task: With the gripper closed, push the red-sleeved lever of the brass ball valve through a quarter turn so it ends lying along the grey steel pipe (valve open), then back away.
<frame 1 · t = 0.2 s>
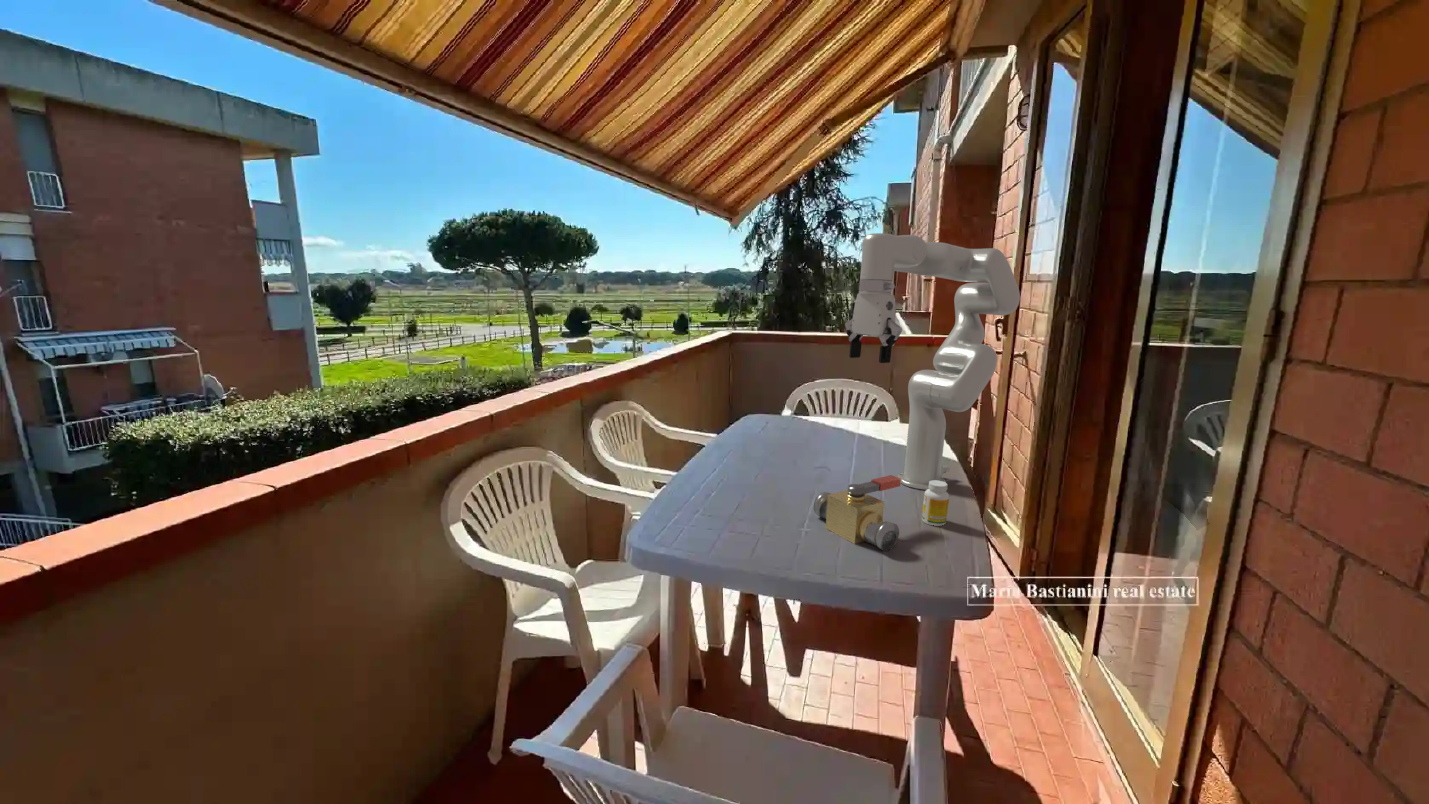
hand: (869, 360, 137), 36 cm above the table, tool pointing down, fingers open, 9 cm apart
lever: (873, 485, 126), point 10 cm above the table, hinge at 90.0°
valve: (853, 532, 126), on the table
supplement bottle: (933, 522, 132), on the table
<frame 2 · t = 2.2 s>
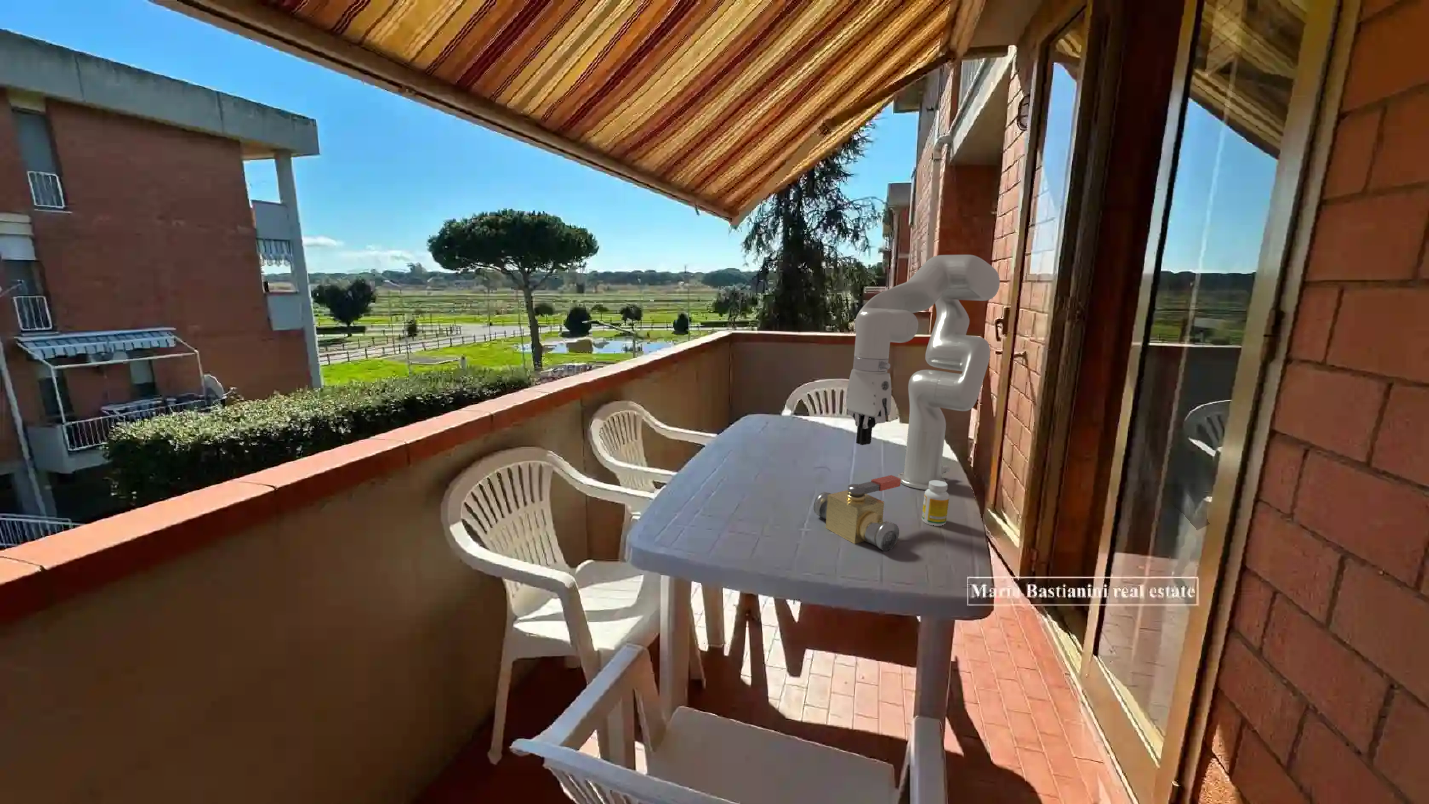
hand: (863, 443, 131), 18 cm above the table, tool pointing down, fingers closed
nothing on the table moved.
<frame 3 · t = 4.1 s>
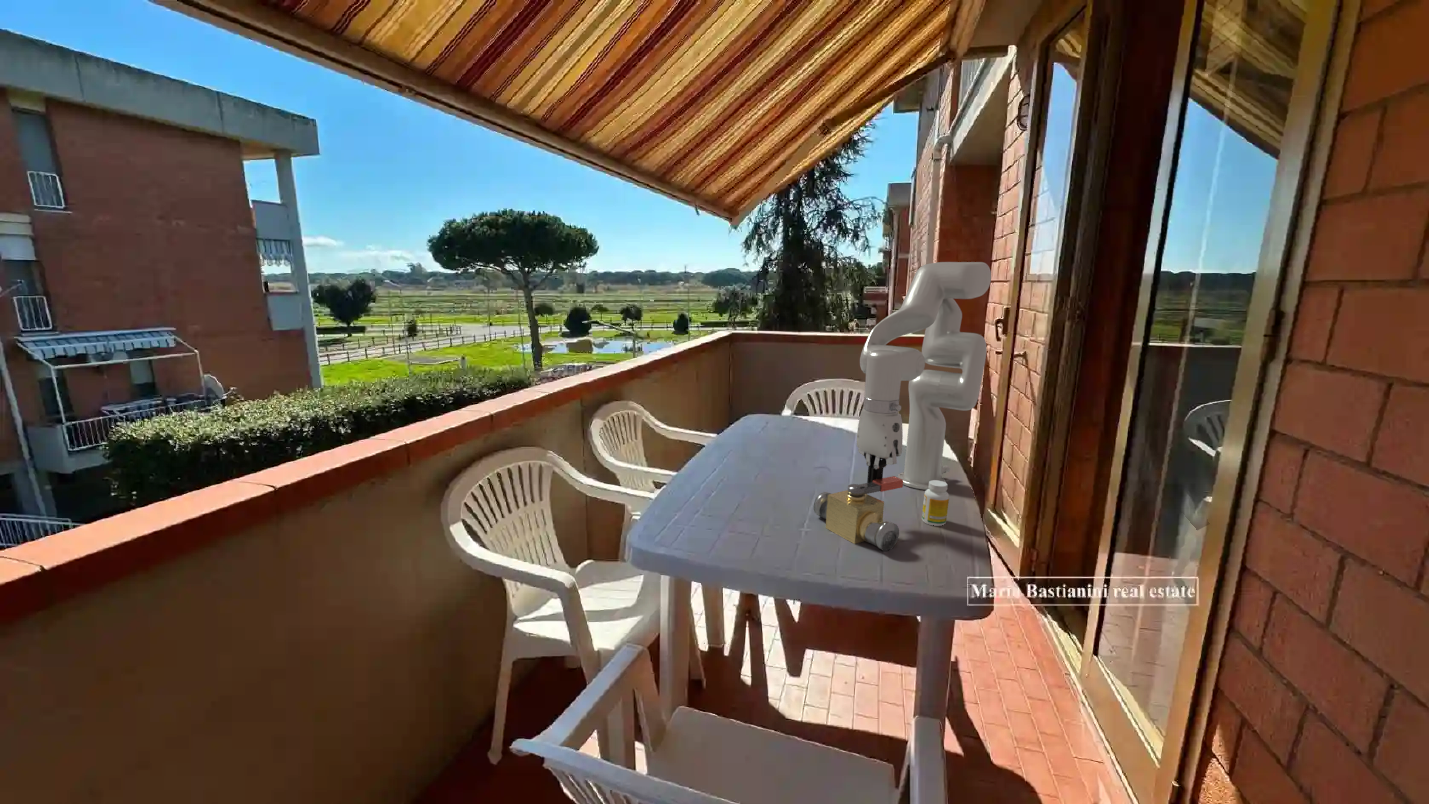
hand: (874, 483, 130), 9 cm above the table, tool pointing down, fingers closed
lever: (874, 486, 126), point 10 cm above the table, hinge at 86.3°, touching gripper
everything else where it was.
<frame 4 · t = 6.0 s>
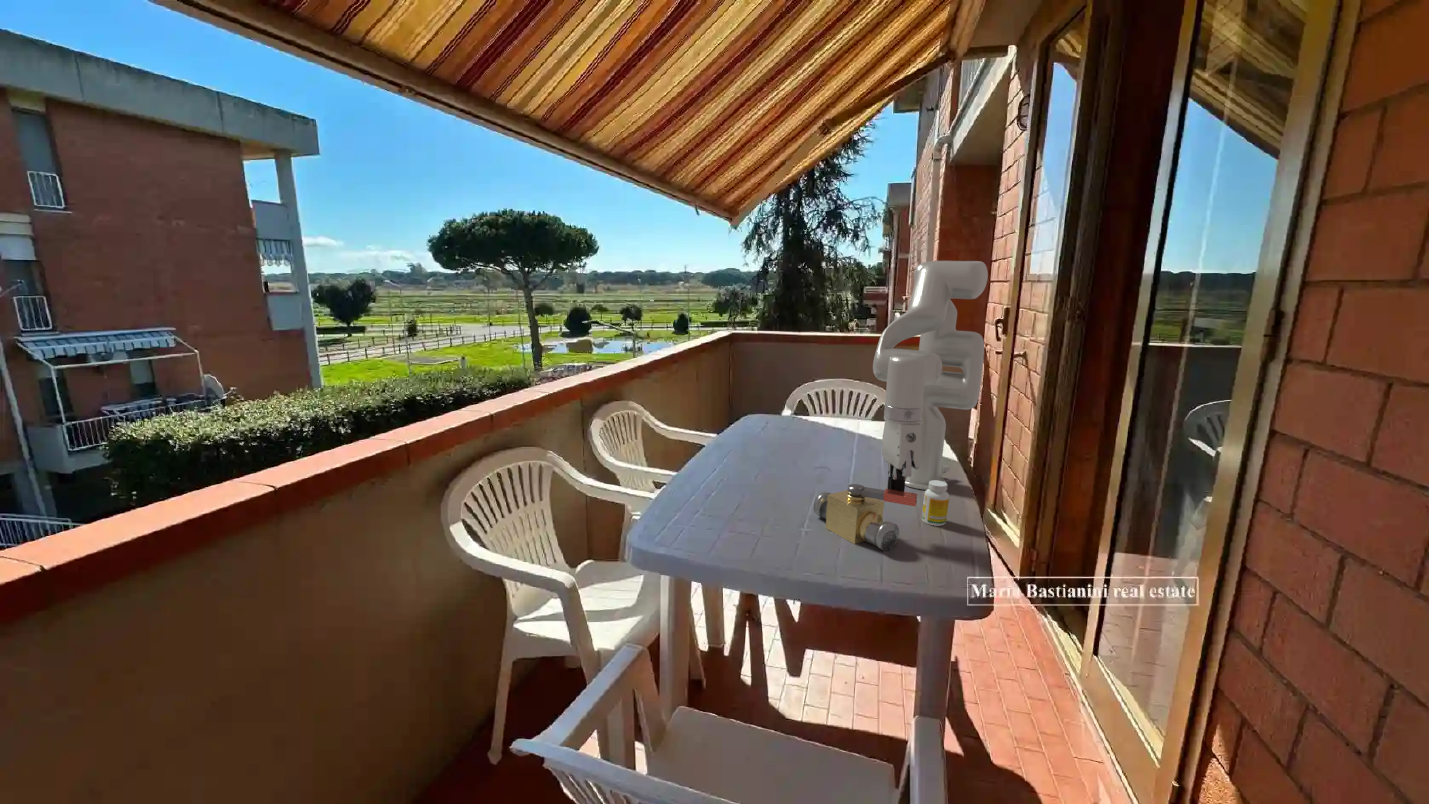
hand: (895, 494, 123), 9 cm above the table, tool pointing down, fingers closed
lever: (881, 494, 121), point 10 cm above the table, hinge at 34.0°, touching gripper
everything else where it was.
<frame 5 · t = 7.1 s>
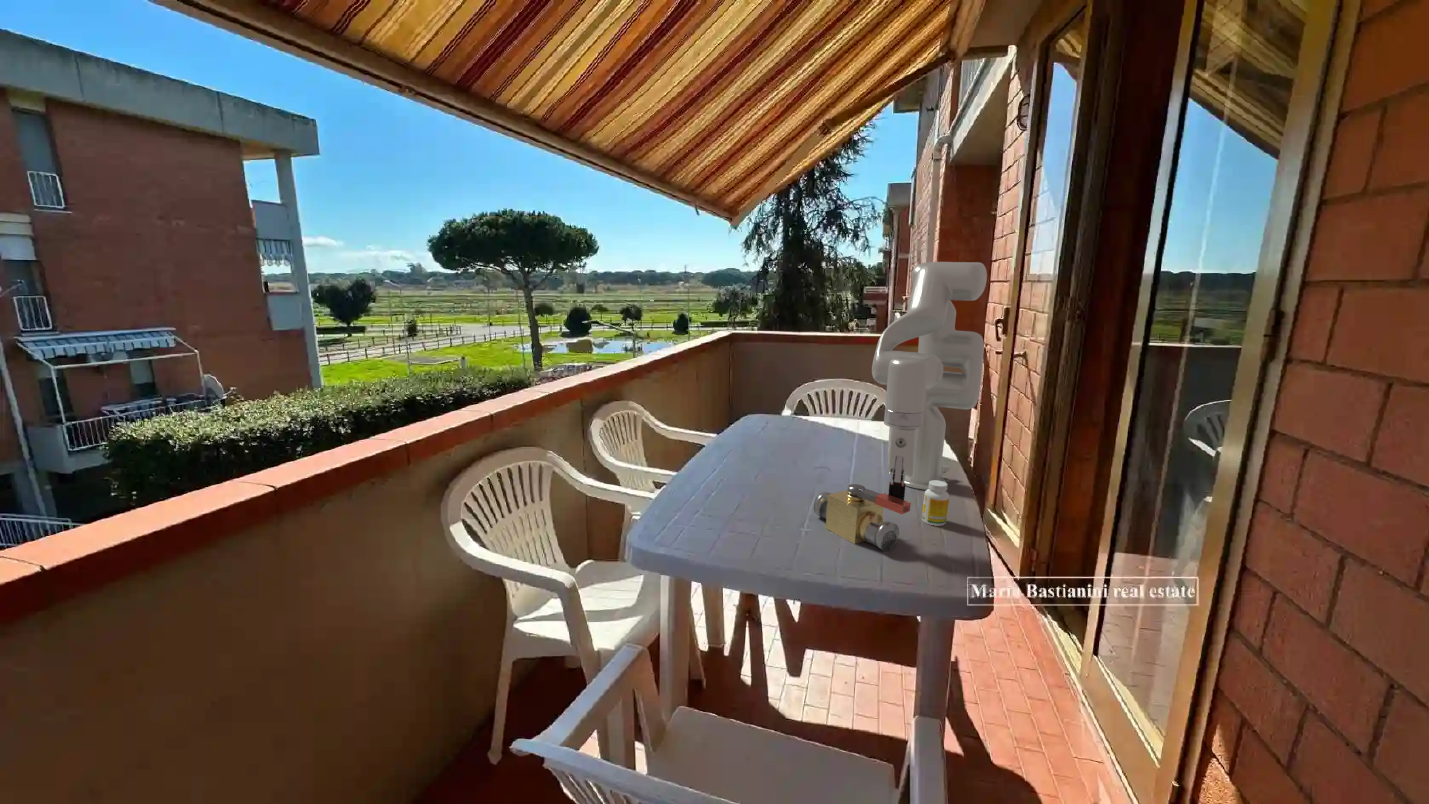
hand: (895, 501, 120), 9 cm above the table, tool pointing down, fingers closed
lever: (876, 497, 119), point 10 cm above the table, hinge at 6.8°, touching gripper
everything else where it was.
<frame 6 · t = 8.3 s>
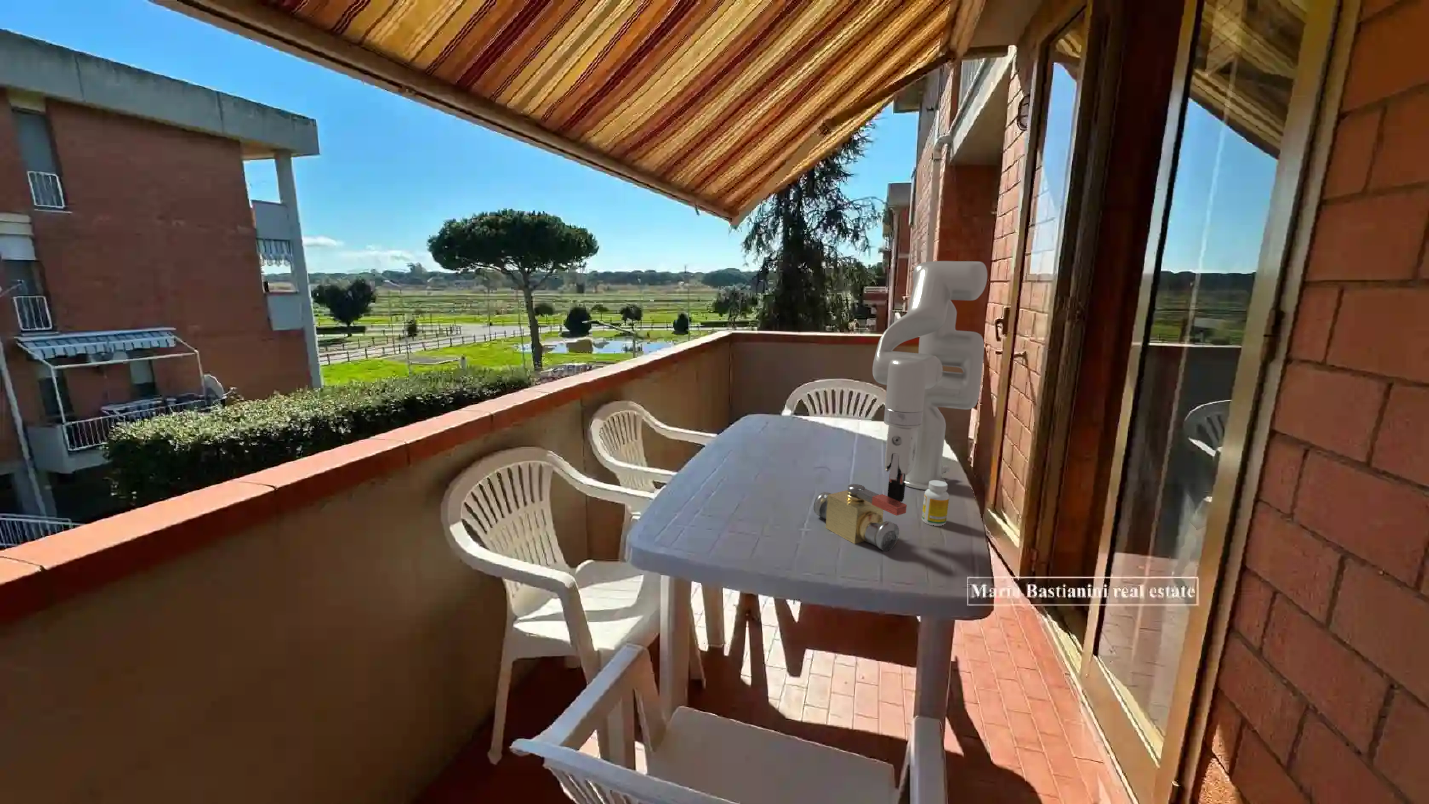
hand: (895, 499, 122), 9 cm above the table, tool pointing down, fingers closed
lever: (874, 498, 119), point 10 cm above the table, hinge at -0.2°
everything else where it was.
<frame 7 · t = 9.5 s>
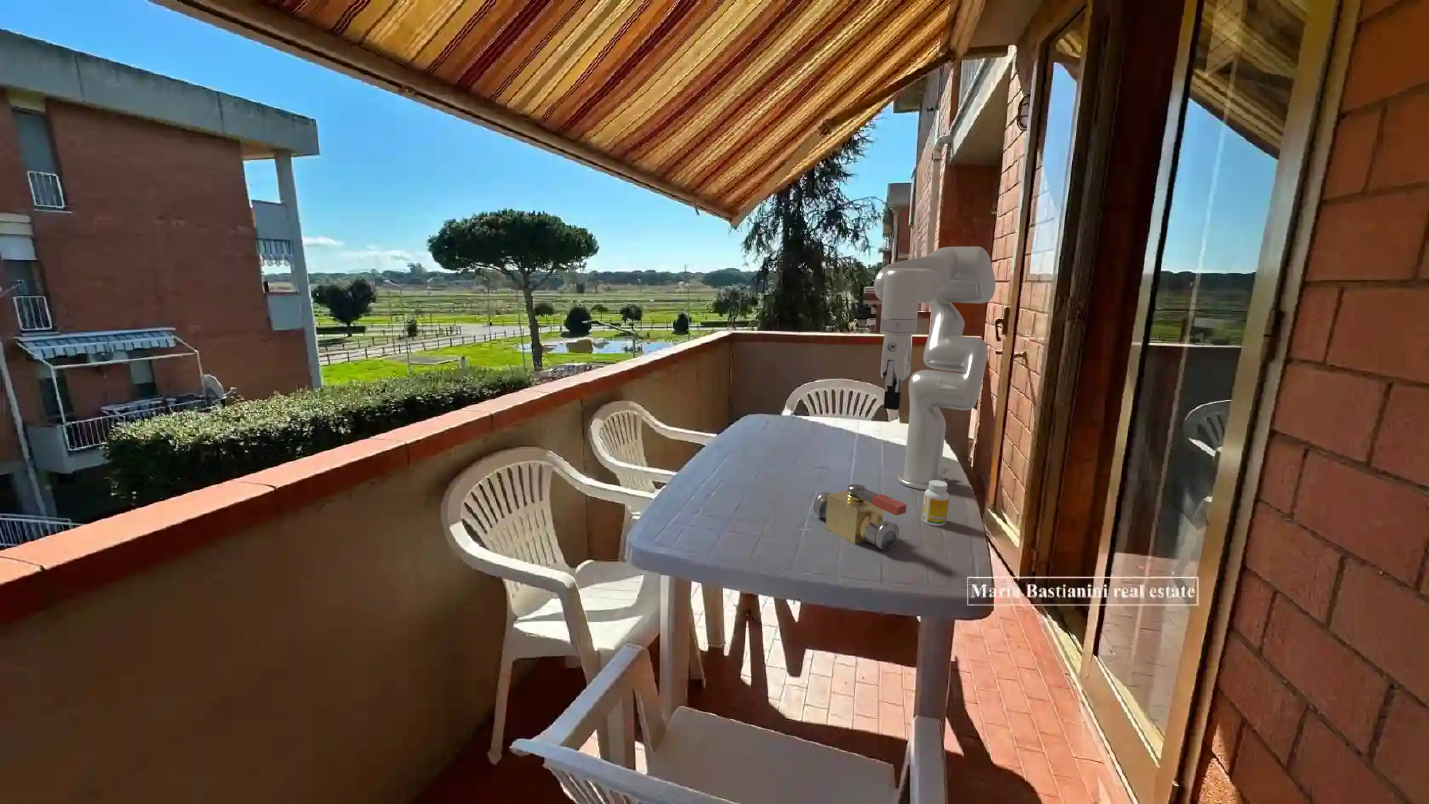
hand: (891, 408, 127), 27 cm above the table, tool pointing down, fingers closed
nothing on the table moved.
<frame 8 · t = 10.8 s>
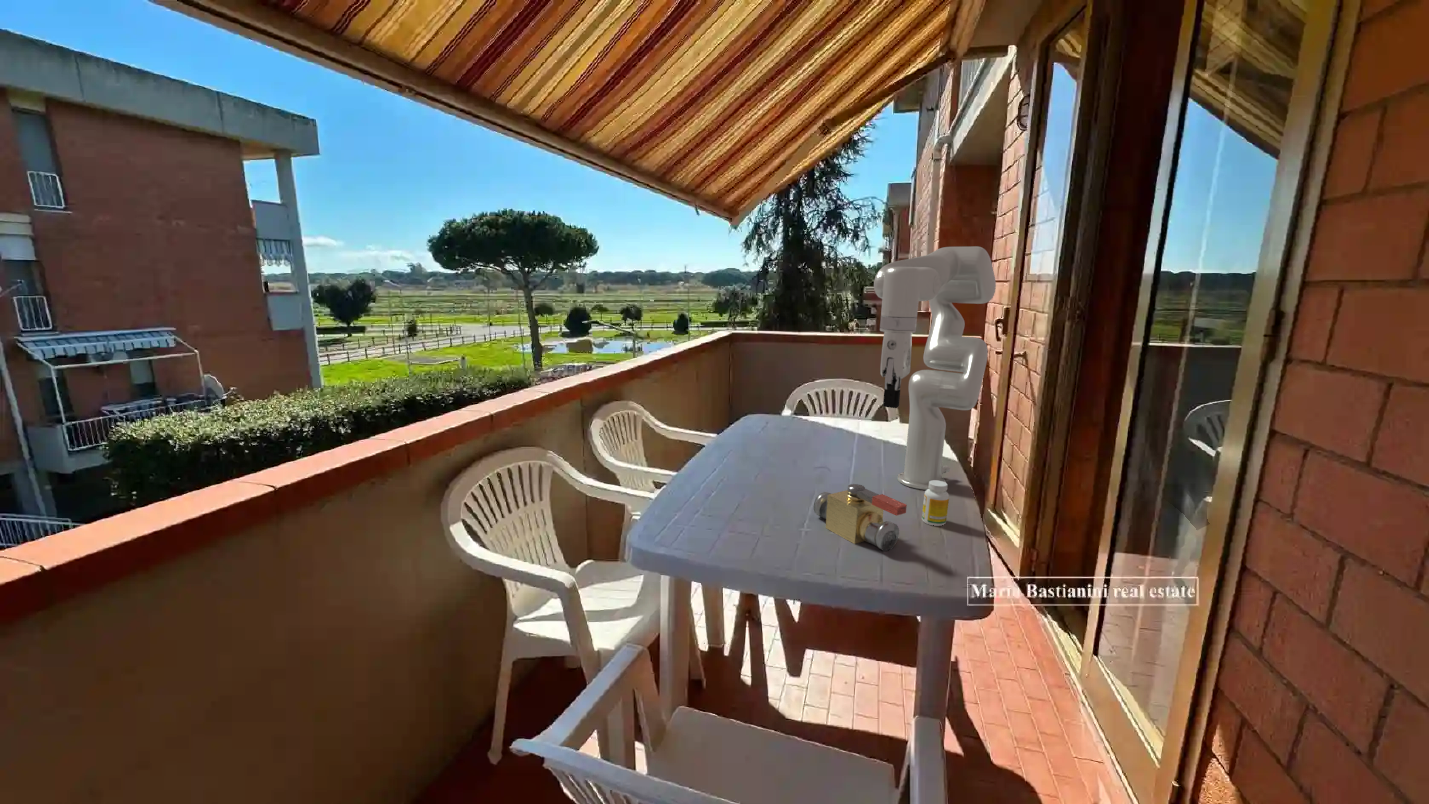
hand: (890, 406, 127), 27 cm above the table, tool pointing down, fingers closed
nothing on the table moved.
at the end: lever at +0° (first picture: +90°) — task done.
